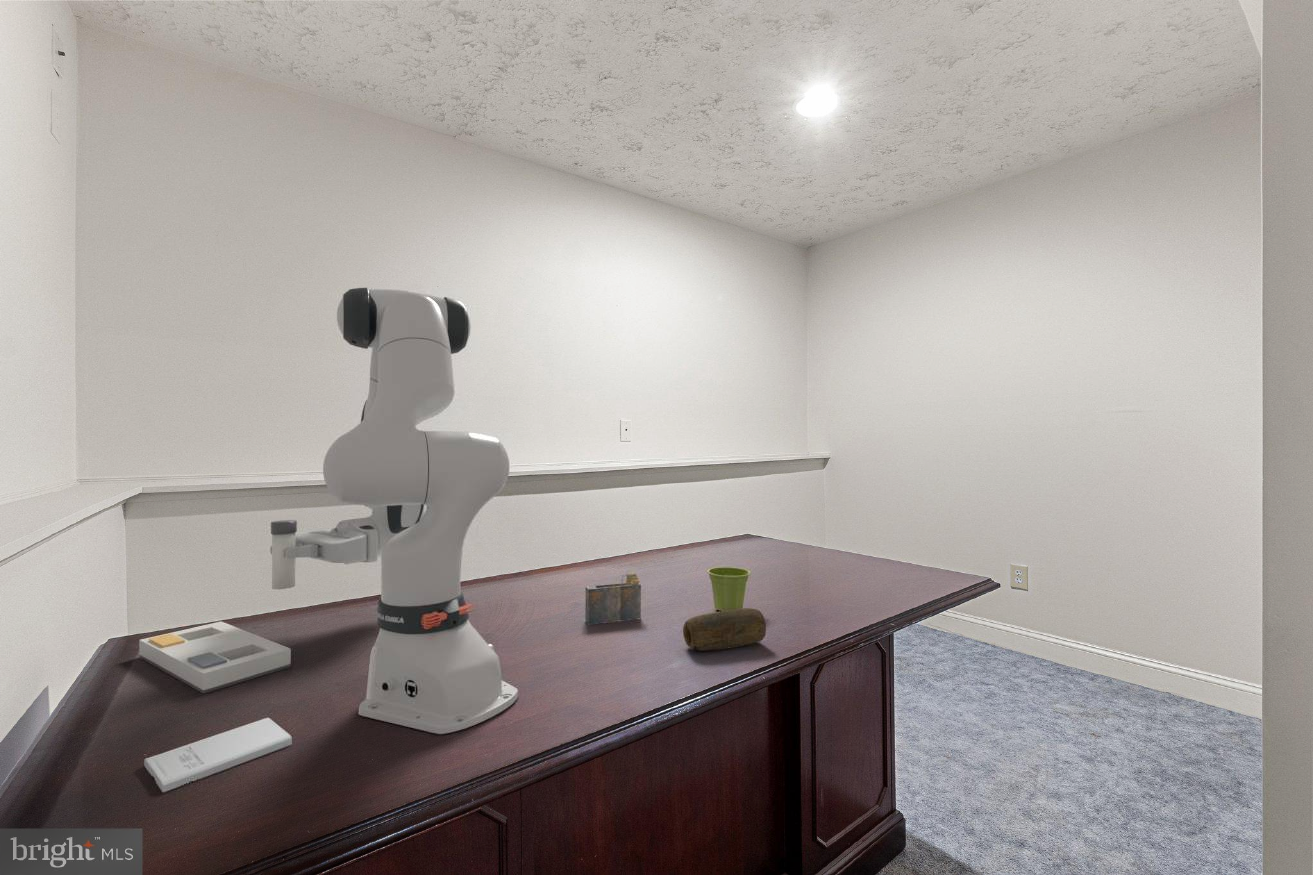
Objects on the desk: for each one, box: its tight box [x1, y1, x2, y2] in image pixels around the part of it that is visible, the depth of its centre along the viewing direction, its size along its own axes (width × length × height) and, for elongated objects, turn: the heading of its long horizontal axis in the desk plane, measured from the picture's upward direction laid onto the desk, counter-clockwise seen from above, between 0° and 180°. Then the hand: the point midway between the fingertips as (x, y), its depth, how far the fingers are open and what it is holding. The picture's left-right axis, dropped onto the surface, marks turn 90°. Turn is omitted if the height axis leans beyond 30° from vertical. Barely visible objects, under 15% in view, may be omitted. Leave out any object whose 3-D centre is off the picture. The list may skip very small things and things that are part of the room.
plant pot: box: [707, 566, 751, 612], centre depth 129 cm, size 9×9×9 cm
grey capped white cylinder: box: [270, 519, 298, 590], centre depth 106 cm, size 4×4×12 cm
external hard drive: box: [143, 717, 293, 793], centre depth 69 cm, size 2×8×12 cm
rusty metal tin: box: [584, 572, 642, 625], centre depth 121 cm, size 11×3×10 cm, turn 110°
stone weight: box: [682, 607, 767, 652], centre depth 106 cm, size 15×7×7 cm, turn 114°
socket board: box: [138, 621, 292, 694], centre depth 97 cm, size 26×12×3 cm, turn 58°
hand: (278, 552), depth 106 cm, fingers closed on grey capped white cylinder, 4 cm apart
